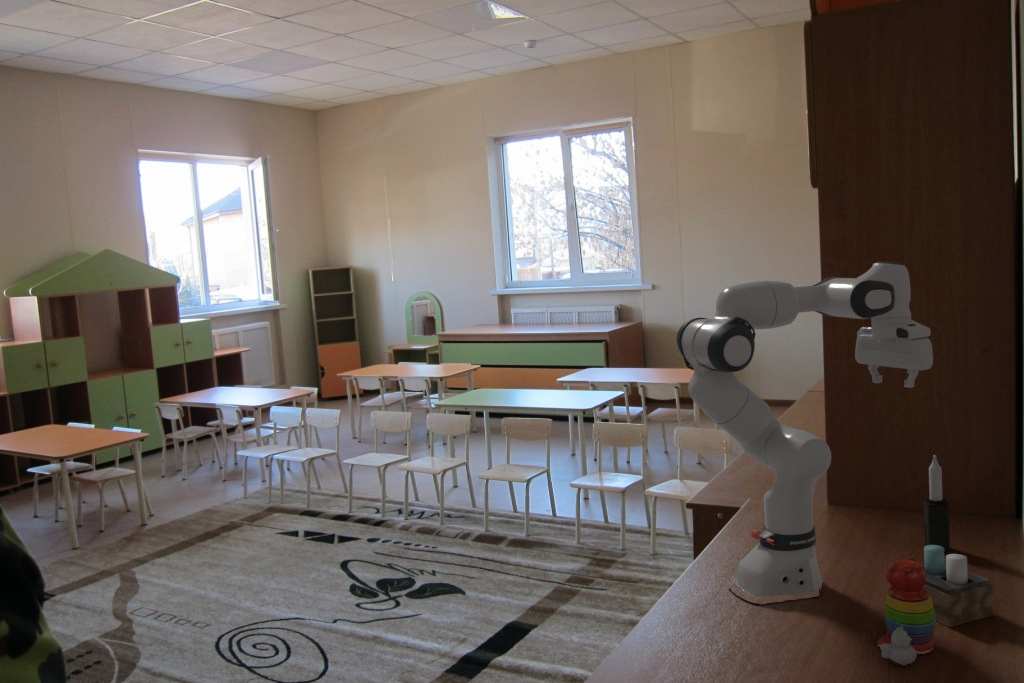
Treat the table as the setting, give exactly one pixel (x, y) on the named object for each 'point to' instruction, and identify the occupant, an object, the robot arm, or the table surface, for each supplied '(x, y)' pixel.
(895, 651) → the rubber duck
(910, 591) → the stacking bear
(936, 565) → the teal peg
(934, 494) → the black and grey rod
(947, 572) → the grey peg
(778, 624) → the table surface
